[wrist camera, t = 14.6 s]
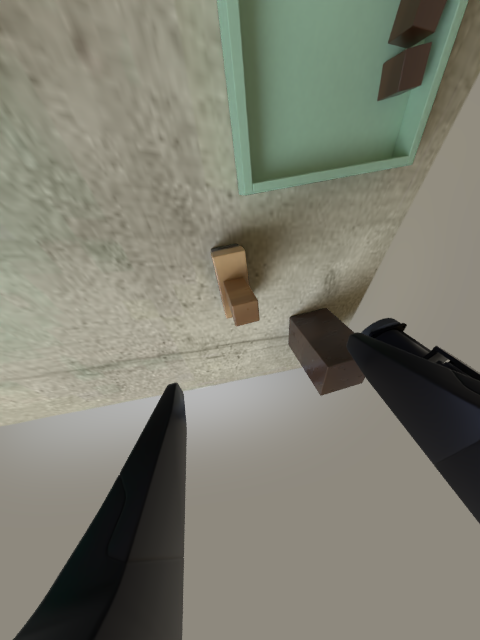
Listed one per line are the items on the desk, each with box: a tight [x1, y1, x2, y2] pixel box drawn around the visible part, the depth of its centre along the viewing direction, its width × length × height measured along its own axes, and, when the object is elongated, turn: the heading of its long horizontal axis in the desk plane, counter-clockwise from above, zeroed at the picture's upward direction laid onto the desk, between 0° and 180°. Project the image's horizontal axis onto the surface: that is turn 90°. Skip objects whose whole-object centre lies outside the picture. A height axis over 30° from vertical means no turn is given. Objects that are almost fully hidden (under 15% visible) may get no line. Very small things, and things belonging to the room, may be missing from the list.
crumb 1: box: [388, 0, 447, 48], centre depth 10 cm, size 2×2×2 cm
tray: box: [217, 0, 469, 195], centre depth 10 cm, size 13×13×2 cm
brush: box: [211, 244, 260, 326], centre depth 15 cm, size 6×3×7 cm, turn 7°
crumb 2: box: [377, 42, 432, 101], centre depth 11 cm, size 2×2×2 cm
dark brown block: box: [289, 308, 365, 395], centre depth 21 cm, size 5×5×8 cm
